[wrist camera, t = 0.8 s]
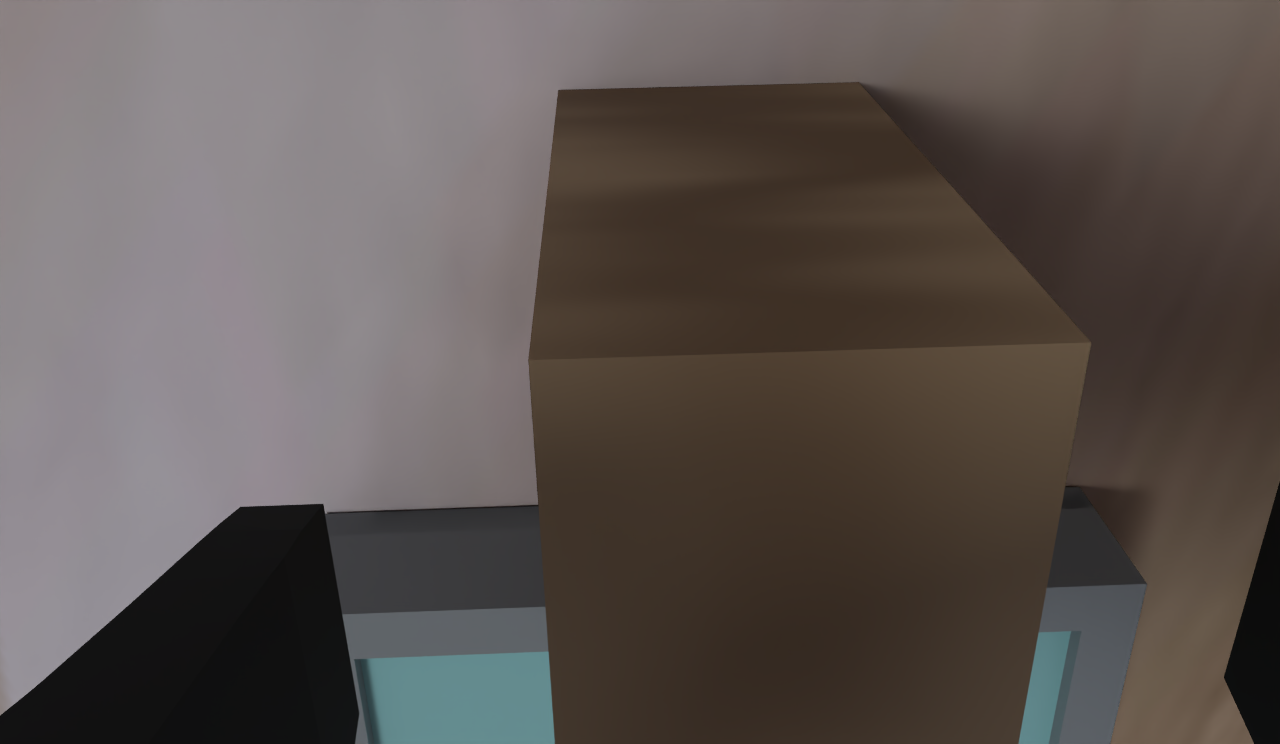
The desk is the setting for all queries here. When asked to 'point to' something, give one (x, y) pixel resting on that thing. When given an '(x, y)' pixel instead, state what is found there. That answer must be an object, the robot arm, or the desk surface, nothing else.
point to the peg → (787, 428)
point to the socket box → (518, 644)
